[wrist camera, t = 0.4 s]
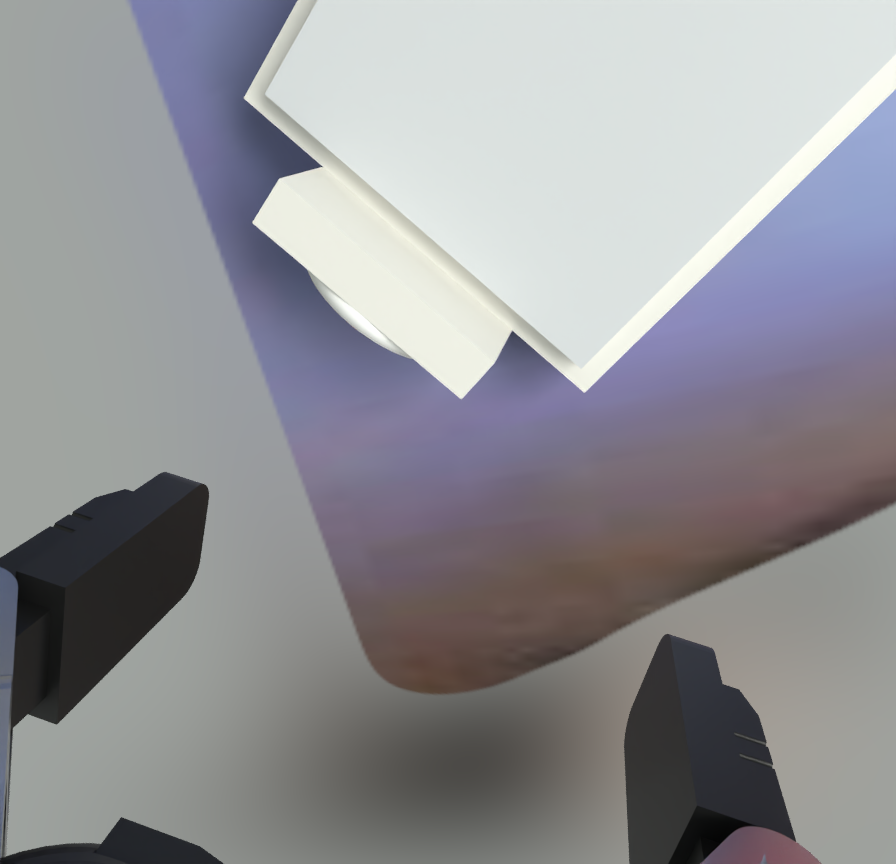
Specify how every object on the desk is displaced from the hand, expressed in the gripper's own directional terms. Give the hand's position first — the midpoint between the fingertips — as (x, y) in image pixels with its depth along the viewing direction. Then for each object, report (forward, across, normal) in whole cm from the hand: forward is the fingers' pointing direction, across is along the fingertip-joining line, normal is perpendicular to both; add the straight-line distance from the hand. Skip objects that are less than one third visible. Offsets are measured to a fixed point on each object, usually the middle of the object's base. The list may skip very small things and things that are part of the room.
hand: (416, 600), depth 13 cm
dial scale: (+22, +2, -10) cm, 25 cm away
